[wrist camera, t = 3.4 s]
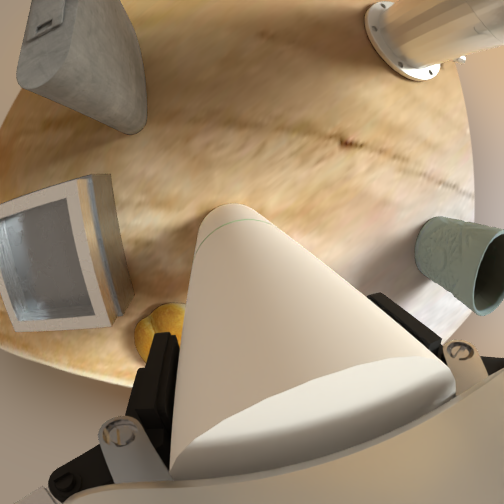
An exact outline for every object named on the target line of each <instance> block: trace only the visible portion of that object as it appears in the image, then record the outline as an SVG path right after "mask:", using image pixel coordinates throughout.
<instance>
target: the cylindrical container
mask: <svg viewBox="0 0 504 504" xmlns="http://www.w3.org/2000/svg"><path fill="white" fill-rule="evenodd" d="M455 392H456V383H455V378H454V376H453V374H452V372H451V370H450V368H449V367H448V366H446V365H445V364H444V363H443V362H442V361H441V360H440V359H439V358H437V357H436V356H435V355H434V354H433V353H432V352H431V351H429V350H428V349H427V348H426V347H425V346H424V345H423V344H421V343H420V342H419V341H418V340H417V339H416V338H414V337H413V336H412V335H411V334H410V333H409V332H407V331H406V330H405V329H404V328H403V327H402V326H400V325H399V324H398V323H397V322H396V321H394V320H393V319H392V318H391V317H390V316H388V315H387V314H386V313H385V312H384V311H382V310H381V309H380V308H379V307H378V306H376V305H375V304H374V303H373V302H372V301H370V300H369V299H368V298H367V297H365V296H364V295H363V294H362V293H361V292H359V291H358V290H357V289H356V288H354V287H353V286H352V285H351V284H349V283H348V282H347V281H346V280H344V279H343V278H342V277H341V276H339V275H338V274H337V273H336V272H334V271H333V270H332V269H331V268H329V267H328V266H327V265H326V264H324V263H323V262H322V261H320V260H319V259H318V258H317V257H315V256H314V255H313V254H312V253H310V252H309V251H308V250H306V249H305V248H304V247H302V246H301V245H300V244H299V243H297V242H296V241H295V240H293V239H292V238H291V237H289V236H288V235H287V234H286V233H284V232H283V231H282V230H280V229H279V228H278V227H276V226H275V225H274V224H272V223H271V222H270V221H268V220H267V219H266V218H264V217H263V216H262V215H260V214H259V213H257V212H256V211H255V210H253V209H252V208H250V207H248V206H245V205H242V204H237V203H230V204H225V205H222V206H219V207H217V208H215V209H214V210H212V211H211V212H210V213H209V214H208V215H207V216H206V217H205V218H204V220H203V221H202V223H201V225H200V228H199V232H198V237H197V242H196V247H195V253H194V258H193V264H192V270H191V276H190V282H189V288H188V294H187V301H186V308H185V315H184V322H183V329H182V336H181V344H180V352H179V361H178V369H177V379H176V388H175V398H174V410H173V422H172V435H171V451H170V470H169V474H170V475H171V476H172V478H173V479H174V480H175V481H181V480H199V479H210V478H220V477H228V476H236V475H243V474H250V473H256V472H262V471H267V470H272V469H277V468H282V467H286V466H290V465H295V464H299V463H302V462H306V461H310V460H314V459H317V458H321V457H324V456H327V455H330V454H334V453H337V452H340V451H343V450H346V449H348V448H351V447H354V446H357V445H359V444H362V443H365V442H367V441H370V440H372V439H375V438H377V437H380V436H382V435H384V434H387V433H389V432H391V431H393V430H395V429H398V428H400V427H402V426H404V425H406V424H408V423H410V422H412V421H414V420H416V419H418V418H420V417H422V416H424V415H426V414H428V413H429V412H431V411H433V410H435V409H437V408H438V407H440V406H442V405H444V404H445V403H447V402H449V401H450V400H452V399H453V397H454V394H455Z"/></svg>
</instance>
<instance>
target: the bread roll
mask: <svg viewBox="0 0 504 504" xmlns="http://www.w3.org/2000/svg"><path fill="white" fill-rule="evenodd" d="M185 308H186V304H184V303H168V304H164V305H161V306H159V307H157V308H156V309H155V310H154V311H153V312H152V314H150V315H149V316H148V317H146V318H144V319H142V320H141V321H139V323H138V324H137V325H136V328H135V332H134V339H135V345H136V348H137V351H138V353H139V355H140V356H141V358H142V359H143V360H144V361H145V363H146V362H147V358H148V355H149V351H150V347H151V344H152V340H153V337H154V334H155V333H161V332H170V333H171V335H176V337H177V340H178V344H179V347H180V344H181V336H182V329H183V322H184V315H185Z"/></svg>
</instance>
